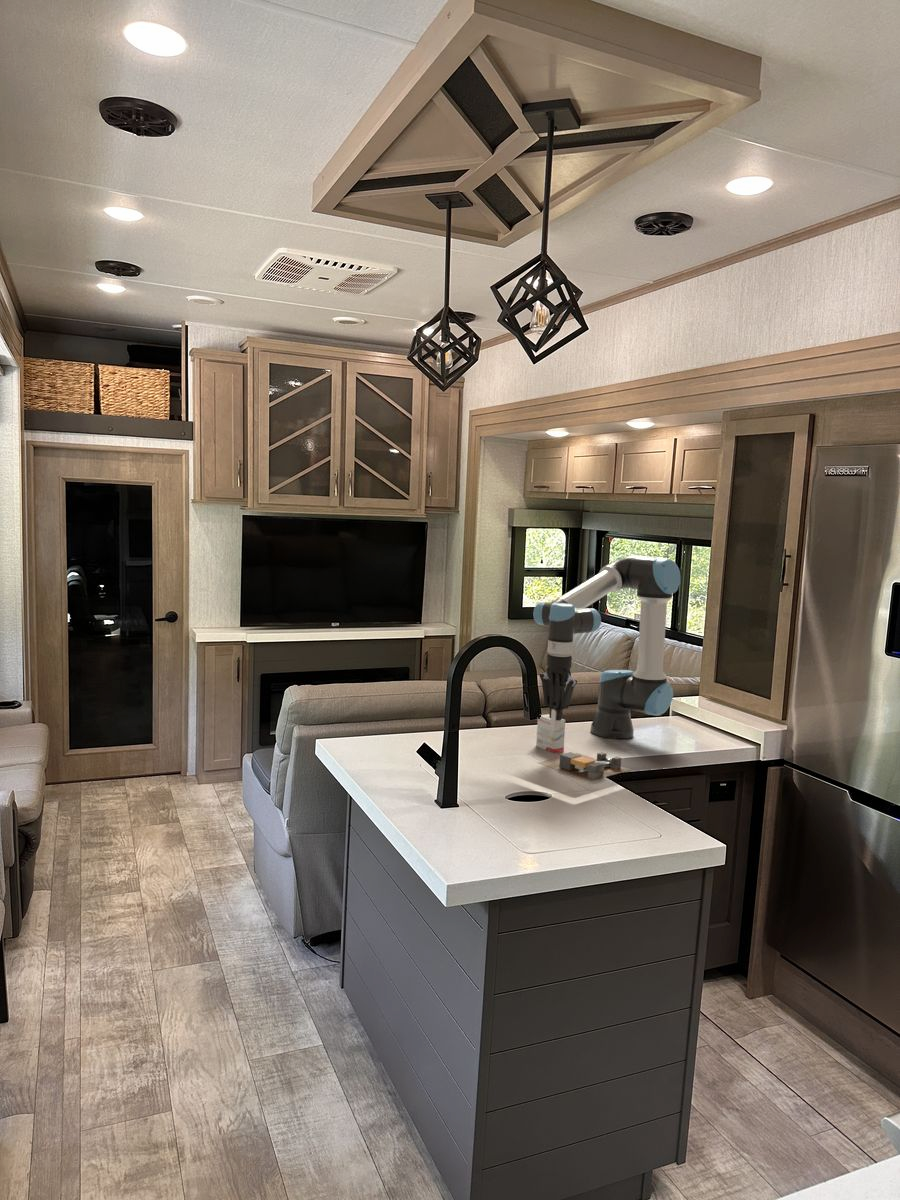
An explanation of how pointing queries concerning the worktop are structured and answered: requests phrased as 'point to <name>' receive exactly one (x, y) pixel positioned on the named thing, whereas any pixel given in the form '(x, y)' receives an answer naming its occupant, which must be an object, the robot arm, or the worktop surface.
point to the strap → (606, 762)
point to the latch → (574, 761)
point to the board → (579, 772)
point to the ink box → (550, 735)
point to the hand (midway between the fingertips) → (554, 729)
